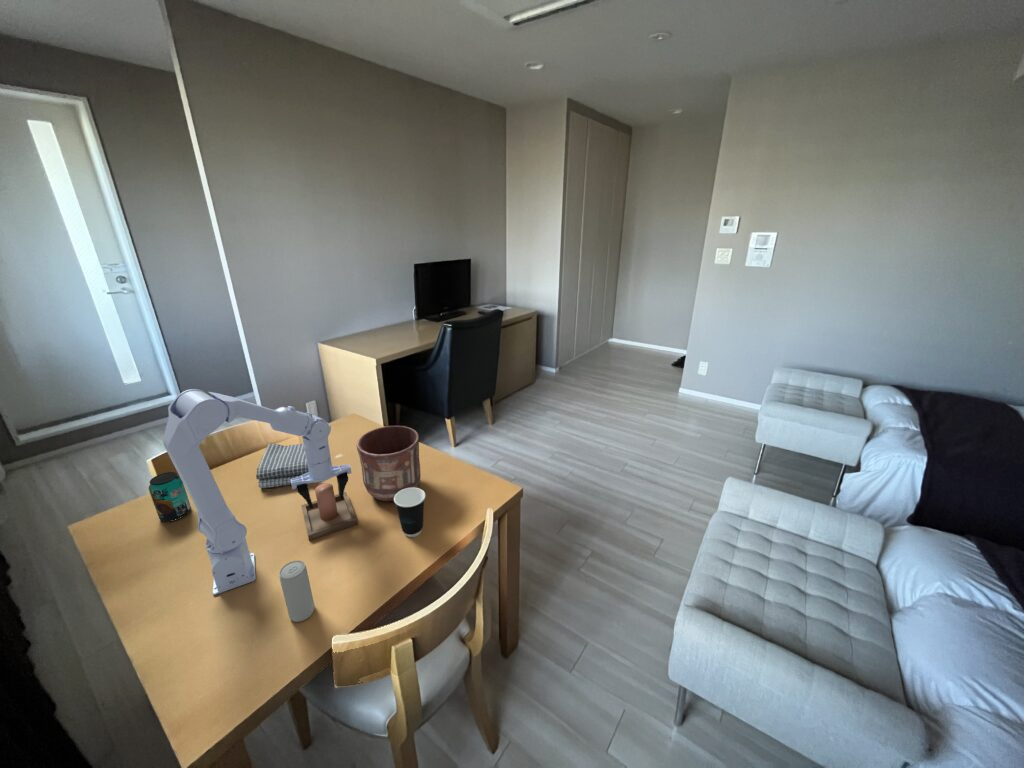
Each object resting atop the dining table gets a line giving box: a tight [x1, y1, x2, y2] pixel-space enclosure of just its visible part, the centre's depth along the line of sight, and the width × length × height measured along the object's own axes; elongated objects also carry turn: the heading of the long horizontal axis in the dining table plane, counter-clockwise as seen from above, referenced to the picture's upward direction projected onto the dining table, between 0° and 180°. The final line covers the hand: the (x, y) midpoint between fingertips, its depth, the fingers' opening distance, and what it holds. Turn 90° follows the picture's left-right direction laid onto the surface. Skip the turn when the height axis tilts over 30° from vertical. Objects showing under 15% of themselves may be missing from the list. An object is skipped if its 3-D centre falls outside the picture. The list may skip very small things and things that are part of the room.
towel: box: [255, 443, 309, 489], centre depth 132 cm, size 15×18×8 cm
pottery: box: [356, 425, 421, 503], centre depth 121 cm, size 18×18×18 cm
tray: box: [300, 491, 358, 542], centre depth 112 cm, size 14×12×2 cm
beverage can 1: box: [148, 471, 192, 522], centre depth 111 cm, size 7×7×12 cm
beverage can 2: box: [278, 560, 316, 623], centre depth 83 cm, size 5×5×12 cm
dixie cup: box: [393, 487, 426, 538], centre depth 106 cm, size 8×8×11 cm
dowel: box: [314, 482, 338, 521], centre depth 111 cm, size 4×4×9 cm
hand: (326, 501), depth 111 cm, fingers open, 7 cm apart
